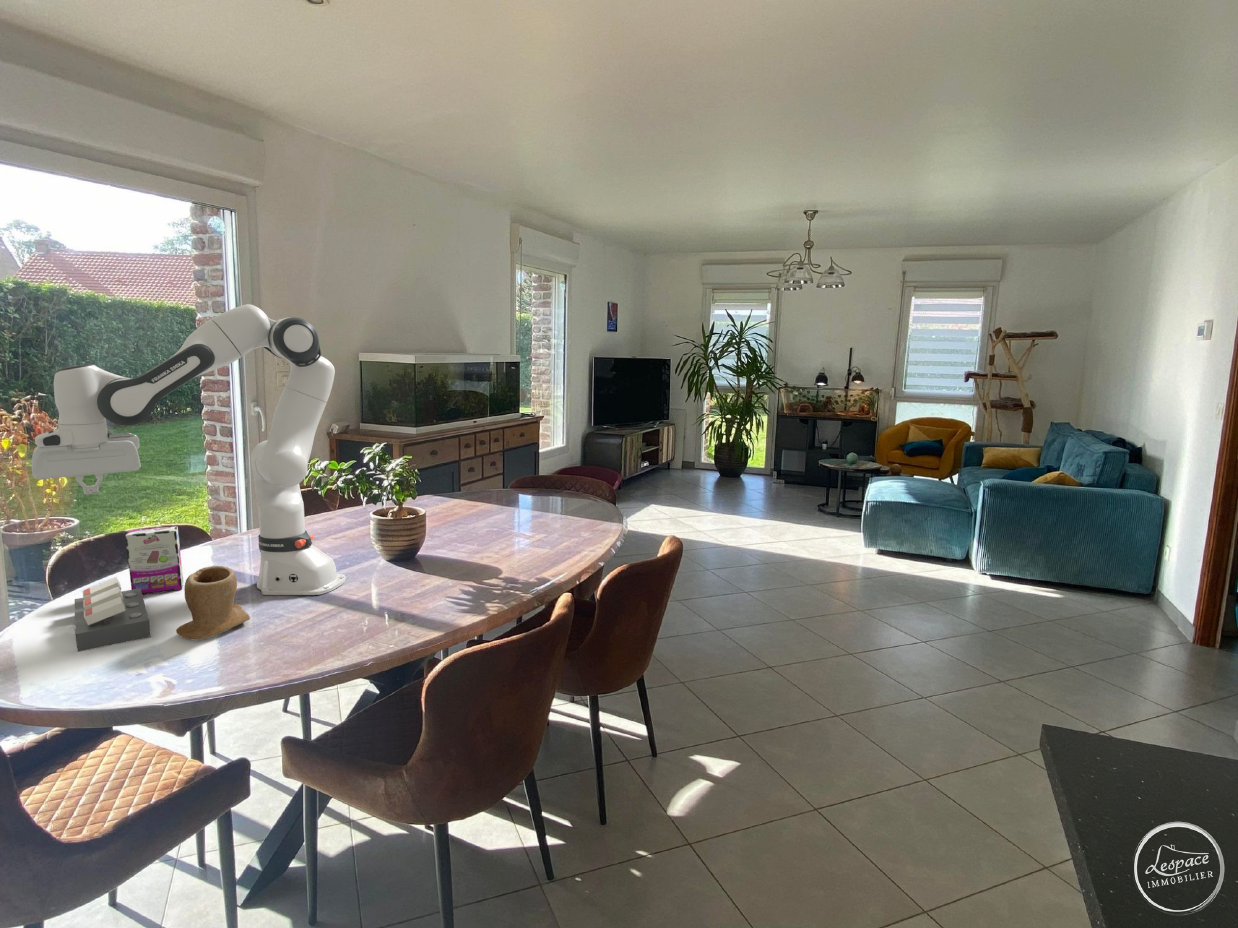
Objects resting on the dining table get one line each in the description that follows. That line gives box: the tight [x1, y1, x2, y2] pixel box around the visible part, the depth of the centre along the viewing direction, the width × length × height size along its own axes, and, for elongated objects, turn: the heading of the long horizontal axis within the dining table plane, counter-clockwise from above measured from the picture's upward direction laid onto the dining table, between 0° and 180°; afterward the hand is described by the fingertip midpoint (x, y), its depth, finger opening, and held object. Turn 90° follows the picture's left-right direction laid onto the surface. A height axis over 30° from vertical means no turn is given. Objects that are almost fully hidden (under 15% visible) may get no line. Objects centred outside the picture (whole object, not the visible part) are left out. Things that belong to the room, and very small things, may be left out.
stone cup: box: [175, 565, 251, 641], centre depth 158 cm, size 15×12×15 cm
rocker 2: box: [83, 587, 123, 610], centre depth 158 cm, size 7×4×2 cm, turn 127°
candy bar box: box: [125, 525, 185, 596], centre depth 181 cm, size 11×5×16 cm, turn 117°
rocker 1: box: [82, 576, 122, 600], centre depth 164 cm, size 7×4×2 cm, turn 127°
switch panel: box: [74, 588, 152, 652], centre depth 160 cm, size 13×24×5 cm, turn 38°
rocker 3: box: [84, 597, 126, 625], centre depth 153 cm, size 7×4×2 cm, turn 127°
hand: (91, 493), depth 163 cm, fingers closed
